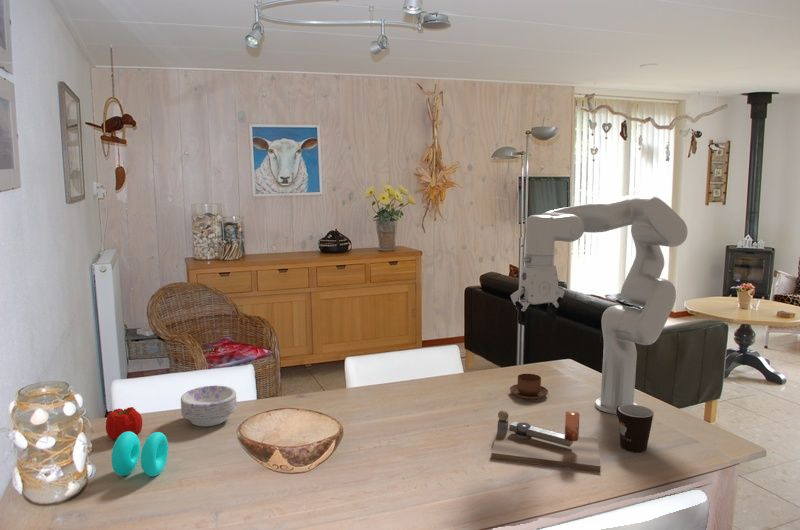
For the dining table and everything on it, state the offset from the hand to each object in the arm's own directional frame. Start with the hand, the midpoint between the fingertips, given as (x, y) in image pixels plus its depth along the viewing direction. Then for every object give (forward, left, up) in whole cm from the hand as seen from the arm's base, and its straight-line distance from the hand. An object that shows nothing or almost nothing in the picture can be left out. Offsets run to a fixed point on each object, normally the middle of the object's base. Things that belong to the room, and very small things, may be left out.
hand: (536, 322), depth 166 cm
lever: (+12, +3, -28) cm, 30 cm away
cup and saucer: (-26, -3, -31) cm, 40 cm away
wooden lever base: (+14, +4, -30) cm, 34 cm away
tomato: (+36, -106, -31) cm, 116 cm away
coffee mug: (+4, +26, -31) cm, 40 cm away
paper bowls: (+20, -90, -31) cm, 97 cm away
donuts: (+52, -88, -31) cm, 107 cm away
